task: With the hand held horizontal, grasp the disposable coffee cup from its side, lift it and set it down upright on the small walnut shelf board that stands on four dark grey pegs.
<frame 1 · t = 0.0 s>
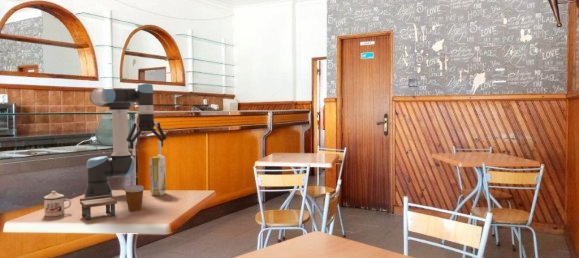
hand: (147, 154, 226), 28 cm above the table, tool pointing down, fingers open, 13 cm apart
disposable coffee cup: (134, 210, 222), on the table
juice carton: (158, 194, 262), on the table
peg shelf: (98, 215, 210), on the table
teacup with lid: (58, 214, 214), on the table
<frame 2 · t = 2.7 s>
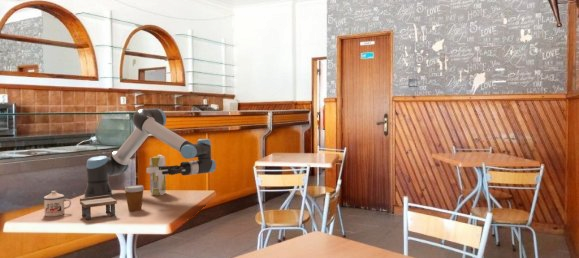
hand: (150, 171, 229), 18 cm above the table, tool horizontal, fingers open, 13 cm apart
nothing on the table moved.
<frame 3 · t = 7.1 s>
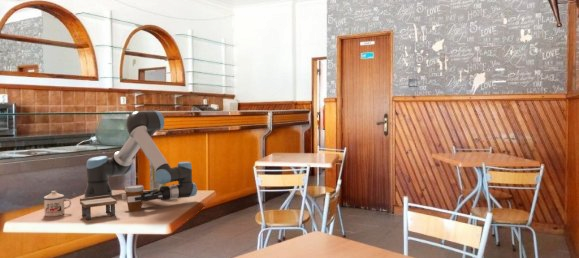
hand: (125, 198, 219), 7 cm above the table, tool horizontal, fingers closed on disposable coffee cup, 8 cm apart
disposable coffee cup: (134, 210, 222), on the table, touching gripper
everything else where it was.
when the fingers open (15 cm above the table, at t = 10.7 s): disposable coffee cup drops 1 cm, resting on peg shelf.
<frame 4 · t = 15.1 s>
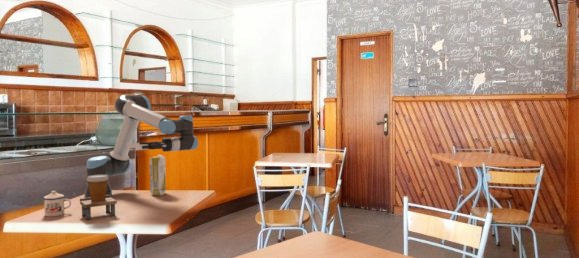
hand: (130, 146, 226), 32 cm above the table, tool horizontal, fingers open, 13 cm apart
disposable coffee cup: (98, 200, 210), point 7 cm above the table, touching peg shelf
everything else where it was.
at the end: disposable coffee cup inside the target area on the peg shelf (0.1 cm from its centre), point 7.3 cm above the peg shelf's base; disposable coffee cup tilted 0°; the gripper is holding nothing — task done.
